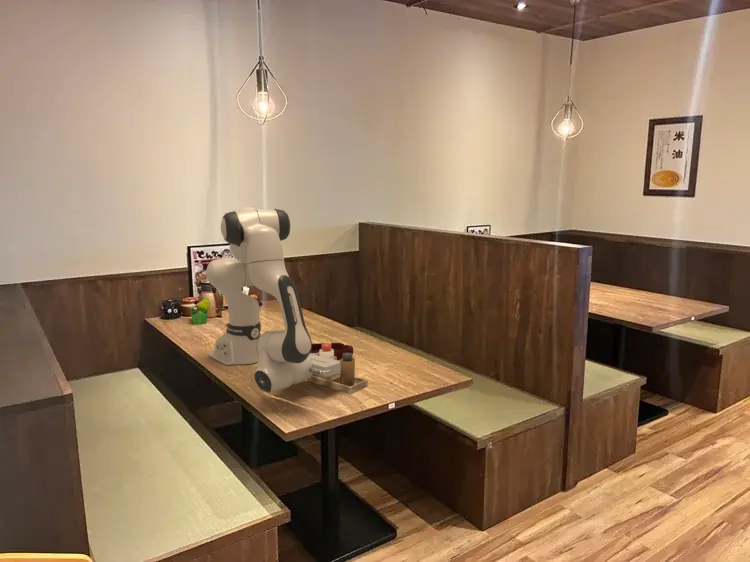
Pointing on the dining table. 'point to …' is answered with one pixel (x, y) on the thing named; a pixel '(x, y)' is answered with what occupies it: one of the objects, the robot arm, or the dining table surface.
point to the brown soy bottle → (347, 370)
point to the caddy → (336, 385)
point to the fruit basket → (200, 312)
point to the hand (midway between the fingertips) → (328, 356)
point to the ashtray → (337, 348)
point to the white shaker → (326, 354)
